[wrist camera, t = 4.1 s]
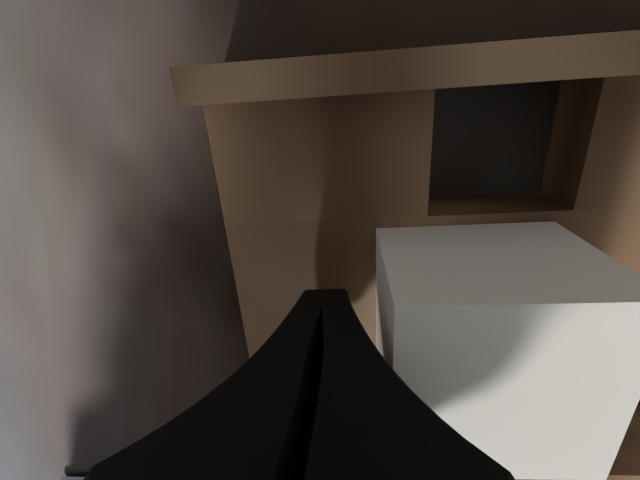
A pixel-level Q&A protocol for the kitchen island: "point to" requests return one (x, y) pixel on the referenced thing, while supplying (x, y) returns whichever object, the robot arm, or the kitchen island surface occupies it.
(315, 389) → the robot arm
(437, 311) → the block
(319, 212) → the rimmed wooden board
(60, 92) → the kitchen island surface
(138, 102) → the kitchen island surface
